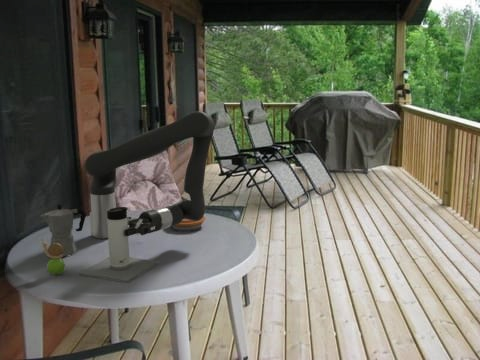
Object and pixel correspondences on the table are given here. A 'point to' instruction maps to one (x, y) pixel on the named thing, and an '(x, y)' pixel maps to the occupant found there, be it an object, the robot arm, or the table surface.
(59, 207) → the coffeepot
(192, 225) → the pie
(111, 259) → the travel mug
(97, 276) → the mat
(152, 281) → the table surface
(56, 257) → the snail figurine
